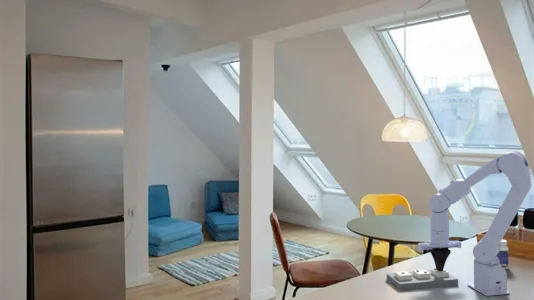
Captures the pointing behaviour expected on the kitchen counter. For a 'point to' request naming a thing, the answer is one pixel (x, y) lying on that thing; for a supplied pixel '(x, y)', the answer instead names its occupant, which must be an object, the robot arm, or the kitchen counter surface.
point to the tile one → (403, 275)
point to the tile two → (421, 274)
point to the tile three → (439, 273)
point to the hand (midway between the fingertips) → (439, 270)
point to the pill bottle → (503, 254)
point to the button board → (422, 282)
